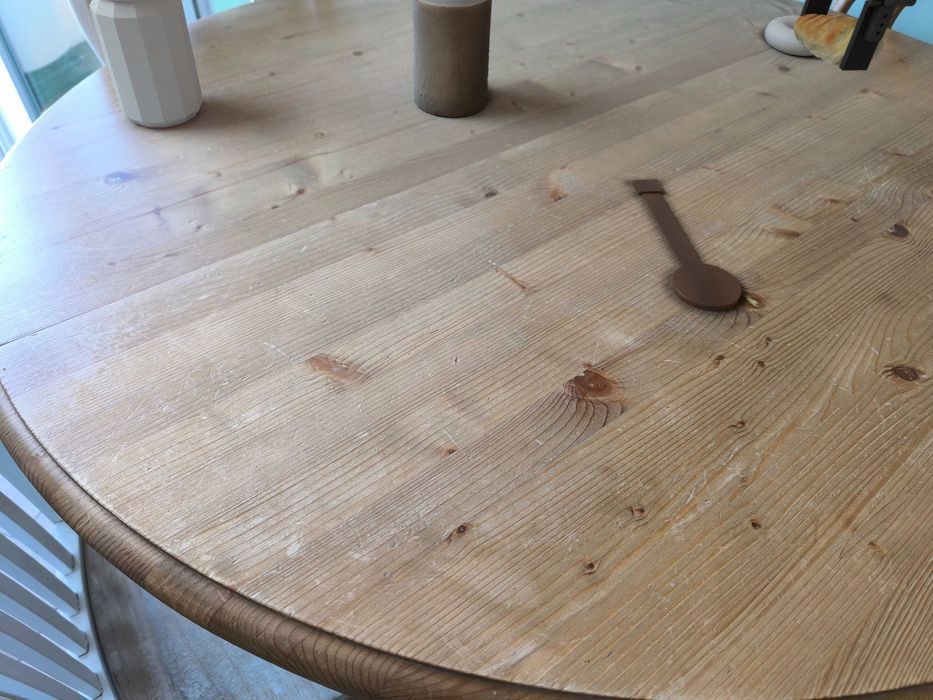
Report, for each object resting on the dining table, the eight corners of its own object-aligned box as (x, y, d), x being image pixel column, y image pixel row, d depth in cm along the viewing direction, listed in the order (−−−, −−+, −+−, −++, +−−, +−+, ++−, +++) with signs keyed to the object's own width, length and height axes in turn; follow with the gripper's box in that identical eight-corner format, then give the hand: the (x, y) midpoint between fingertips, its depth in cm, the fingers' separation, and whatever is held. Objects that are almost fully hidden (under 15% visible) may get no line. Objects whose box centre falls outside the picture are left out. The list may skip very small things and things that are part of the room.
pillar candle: (499, 110, 97) (508, -12, 87) (431, 123, 94) (431, -2, 83) (466, 79, 103) (471, -38, 93) (401, 91, 100) (398, -29, 90)
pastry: (774, 37, 83) (786, 1, 80) (817, 29, 85) (831, -6, 83) (839, 71, 77) (854, 34, 74) (884, 62, 79) (900, 25, 77)
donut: (773, 29, 121) (752, 47, 115) (780, 7, 119) (759, 24, 113) (835, 45, 118) (817, 65, 111) (844, 23, 115) (826, 41, 109)
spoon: (669, 189, 85) (672, 176, 84) (747, 316, 70) (752, 303, 68) (614, 191, 84) (617, 179, 83) (682, 321, 69) (686, 308, 68)
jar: (123, 135, 89) (73, -27, 76) (122, 99, 95) (76, -56, 83) (208, 125, 91) (174, -33, 79) (201, 90, 98) (169, -61, 85)
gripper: (828, -229, 73) (756, 9, 88) (963, -185, 57) (846, 95, 72) (900, -226, 73) (816, 9, 89) (1052, -182, 58) (917, 94, 73)
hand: (829, 48), depth 81 cm, fingers closed on pastry, 10 cm apart
